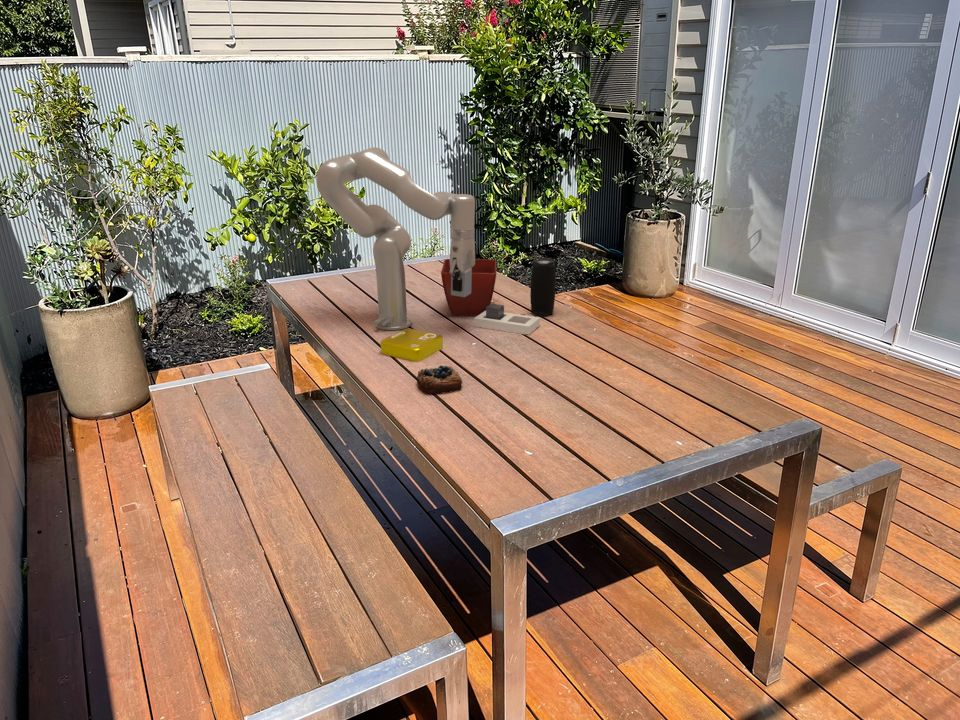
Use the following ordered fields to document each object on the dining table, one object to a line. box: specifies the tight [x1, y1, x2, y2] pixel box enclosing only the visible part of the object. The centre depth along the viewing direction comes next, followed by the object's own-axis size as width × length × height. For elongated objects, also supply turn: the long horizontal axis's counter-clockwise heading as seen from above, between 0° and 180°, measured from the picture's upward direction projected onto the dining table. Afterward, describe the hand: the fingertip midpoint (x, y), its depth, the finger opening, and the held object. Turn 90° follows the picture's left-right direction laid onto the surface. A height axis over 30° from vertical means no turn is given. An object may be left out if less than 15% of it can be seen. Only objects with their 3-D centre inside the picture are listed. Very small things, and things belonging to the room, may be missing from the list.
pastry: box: [416, 365, 463, 395], centre depth 193 cm, size 11×12×6 cm
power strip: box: [473, 302, 541, 336], centre depth 242 cm, size 18×20×7 cm
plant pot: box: [440, 258, 497, 317], centre depth 253 cm, size 19×19×17 cm
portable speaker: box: [530, 257, 557, 318], centre depth 249 cm, size 9×9×20 cm
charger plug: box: [451, 268, 472, 297], centre depth 231 cm, size 5×5×9 cm
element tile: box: [380, 327, 444, 362], centre depth 219 cm, size 15×15×5 cm
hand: (461, 288), depth 232 cm, fingers closed on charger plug, 5 cm apart
